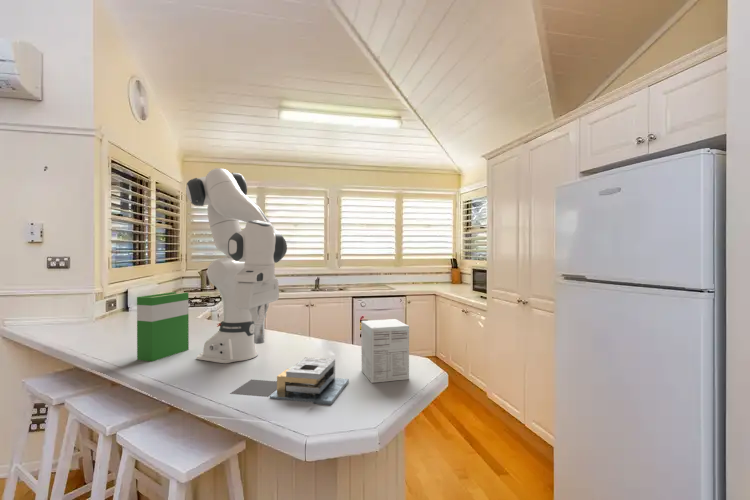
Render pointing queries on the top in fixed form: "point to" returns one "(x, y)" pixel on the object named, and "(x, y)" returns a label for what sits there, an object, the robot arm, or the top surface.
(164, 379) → the top surface
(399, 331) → the supplement box
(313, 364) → the grey layered square block
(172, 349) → the hardback book
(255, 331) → the pin
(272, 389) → the mat
